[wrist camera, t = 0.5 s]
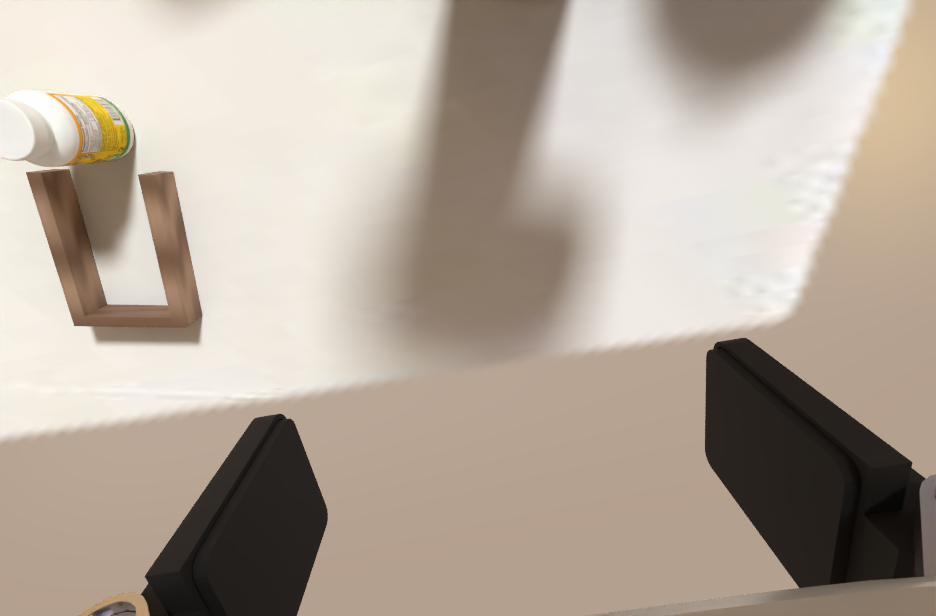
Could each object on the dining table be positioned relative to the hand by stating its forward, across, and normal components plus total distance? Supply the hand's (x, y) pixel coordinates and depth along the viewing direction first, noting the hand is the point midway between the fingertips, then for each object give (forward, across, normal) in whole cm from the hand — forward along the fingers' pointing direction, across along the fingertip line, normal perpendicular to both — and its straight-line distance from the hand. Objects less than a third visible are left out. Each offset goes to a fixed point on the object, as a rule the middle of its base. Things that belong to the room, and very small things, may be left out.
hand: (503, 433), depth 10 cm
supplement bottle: (+36, +30, -12) cm, 48 cm away
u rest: (+35, +32, -1) cm, 48 cm away
